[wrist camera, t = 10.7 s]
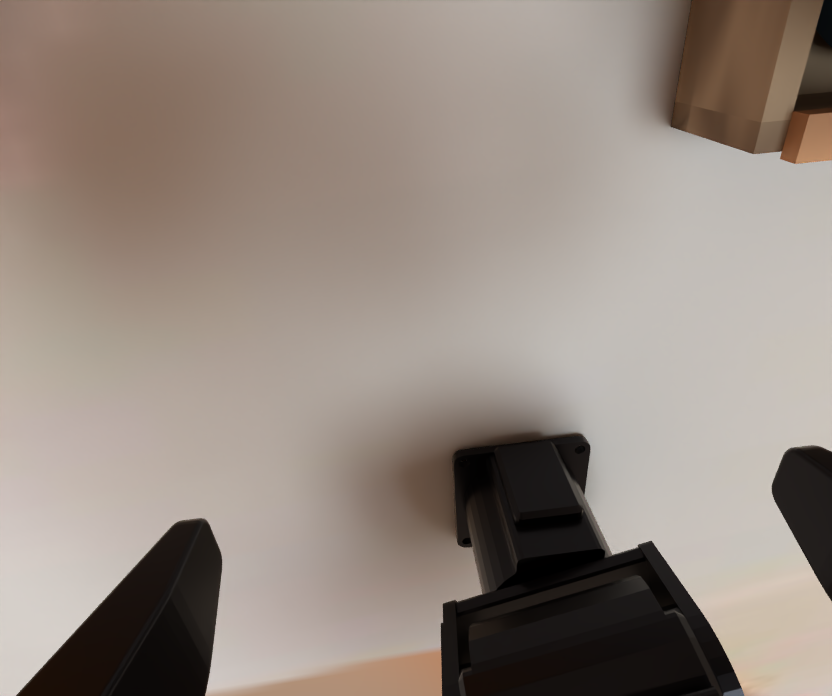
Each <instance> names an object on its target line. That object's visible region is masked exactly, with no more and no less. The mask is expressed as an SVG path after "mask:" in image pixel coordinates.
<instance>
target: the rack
mask: <svg viewBox="0 0 832 696" xmlns="http://www.w3.org/2000/svg"><path fill="white" fill-rule="evenodd" d="M823 1H824V0H692V3H691V9H690V15H689V21H688V27H687V33H686V39H685V45H684V51H683V57H682V63H681V69H680V75H679V81H678V87H677V93H676V99H675V105H674V111H673V117H672V123H671V127H673V128H676V129H679V130H682V131H685V132H688V133H691V134H694V135H697V136H700V137H703V138H706V139H709V140H712V141H715V142H718V143H721V144H724V145H728V146H731V147H734V148H737V149H740V150H743V151H746V152H749V153H752V154H760V153H770V152H780V151H782V153H781V157H780V159H782V160H785V161H788V162H791V163H794V164H798V163H808V162H818V161H828V160H832V47H831V46H829V45H828V44H827V43H826V42H825V41H824V39H823V38H822V37H821V36H820V35H819V33H818V32H817V30H816V27H817V23H818V19H819V16H820V12H821V8H822V5H823Z"/></svg>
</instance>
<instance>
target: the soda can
mask: <svg viewBox="0 0 832 696" xmlns="http://www.w3.org/2000/svg"><path fill="white" fill-rule="evenodd" d="M816 30H817V32H818V33H819V35H820V36H821V37H822V38H823V39H824V41H825V42H826V43H827V44H828V45H829V46H831V47H832V0H824V1H823V5H822V8H821V12H820V16H819V19H818V23H817V27H816Z"/></svg>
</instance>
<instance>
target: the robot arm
mask: <svg viewBox="0 0 832 696" xmlns="http://www.w3.org/2000/svg"><path fill="white" fill-rule="evenodd" d="M578 446H580V447H578ZM576 447H578V448H576ZM589 456H590V445H589V443H588V441H587V439H586V438H585V437H583V436H574V437H565V438H557V439H549V440H540V441H532V442H523V443H515V444H507V445H498V446H490V447H481V448H473V449H465V450H460V451H457V452H456V453H455V454H454V455H453V458H452V463H453V482H454V501H455V520H456V537H457V542H458V545H459V546H461V547H473V552H474V556H475V561H476V566H477V570H478V575H479V580H480V584H481V589H482V595H478V596H475V597H472V598H468V599H465V600H462V601H458V602H457V601H456V600H454V601H450V602H447V603H444V604H443V623H441V658H442V696H744V693H743V691H742V688H741V686H740V683H739V681H738V679H737V676H736V674H735V672H734V670H733V667H732V665H731V663H730V661H729V659H728V657H727V655H726V653H725V651H724V649H723V647H722V645H721V644H720V642H719V640H718V638H717V636H716V634H715V633H714V631H713V629H712V628H711V626H710V624H709V623H708V621H707V620H706V618H705V617H704V615H703V613H702V612H701V611H700V609H699V608H698V606H697V605H696V603H695V602H694V601H693V599H692V598H691V596H690V595H689V594H688V592H687V591H686V589H685V588H684V586H683V585H682V584H681V582H680V581H679V579H678V578H677V576H676V575H675V574H674V572H673V571H672V569H671V568H670V566H669V565H668V564H667V562H666V561H665V559H664V558H663V557H662V555H661V554H660V552H659V551H658V549H657V548H656V547H655V545H654V544H653V542H652V541H649V542H646V543H642V544H639V545H638V547H637V548H634V549H631V550H628V551H624V552H621V553H618V554H614V555H612V553H611V551H610V549H609V547H608V545H607V543H606V540H605V538H604V536H603V534H602V532H601V530H600V528H599V526H598V524H597V522H596V519H595V517H594V515H593V513H592V511H591V509H590V507H589V505H588V503H587V501H586V498H585V496H584V494H585V486H586V478H587V471H588V463H589ZM461 460H466V461H464V462H460V461H461ZM772 494H773V497H774V500H775V502H776V504H777V506H778V508H779V509H780V511H781V513H782V515H783V517H784V518H785V520H786V522H787V524H788V526H789V528H790V529H791V531H792V533H793V535H794V537H795V538H796V540H797V542H798V544H799V546H800V547H801V549H802V551H803V553H804V555H805V556H806V558H807V560H808V562H809V564H810V566H811V567H812V569H813V571H814V573H815V575H816V576H817V578H818V580H819V581H820V583H821V585H822V587H823V588H824V590H825V592H826V593H827V595H828V596H829V598H830V599H831V601H832V452H831V451H829V450H827V449H824V448H822V447H819V446H813V445H811V446H802V447H794V448H790V449H788V450H787V451H786V452H785V453H784V455H783V458H782V460H781V463H780V465H779V468H778V470H777V473H776V475H775V478H774V480H773V483H772ZM221 573H222V556H221V552H220V549H219V547H218V544H217V542H216V539H215V537H214V535H213V532H212V530H211V527H210V525H209V523H208V521H207V520H205V519H202V518H199V519H190V520H182V521H179V522H177V523H175V524H174V525H173V526H172V527H171V528H170V529H169V530H168V531H167V532H166V533H165V534H164V535H163V536H162V538H161V539H160V540H159V541H158V542H157V543H156V544H155V545H154V546H153V547H152V548H151V550H150V551H149V552H148V553H147V554H146V555H145V556H144V557H143V558H142V559H141V560H140V561H139V563H138V564H137V565H136V566H135V567H134V568H133V569H132V570H131V571H130V572H129V573H128V575H127V576H126V577H125V578H124V579H123V580H122V581H121V582H120V583H119V584H118V585H117V586H116V588H115V589H114V590H113V591H112V592H111V593H110V594H109V595H108V596H107V597H106V598H105V600H104V601H103V602H102V603H101V604H100V605H99V606H98V607H97V608H96V609H95V610H94V611H93V613H92V614H91V615H90V616H89V617H88V618H87V619H86V620H85V621H84V622H83V623H82V625H81V626H80V627H79V628H78V629H77V630H76V631H75V632H74V633H73V634H72V635H71V636H70V638H69V639H68V640H67V641H66V642H65V643H64V644H63V645H62V646H61V647H60V648H59V650H58V651H57V652H56V653H55V654H54V655H53V656H52V657H51V658H50V659H49V660H48V661H47V663H46V664H45V665H44V666H43V667H42V668H41V669H40V670H39V671H38V672H37V673H36V674H35V676H34V677H33V678H32V679H31V680H30V681H29V682H28V683H27V684H26V685H25V686H24V688H23V689H22V690H21V691H20V692H19V693H18V694H17V695H16V696H205V693H206V689H207V684H208V678H209V673H210V667H211V659H212V652H213V643H214V634H215V625H216V617H217V608H218V599H219V591H220V582H221Z"/></svg>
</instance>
